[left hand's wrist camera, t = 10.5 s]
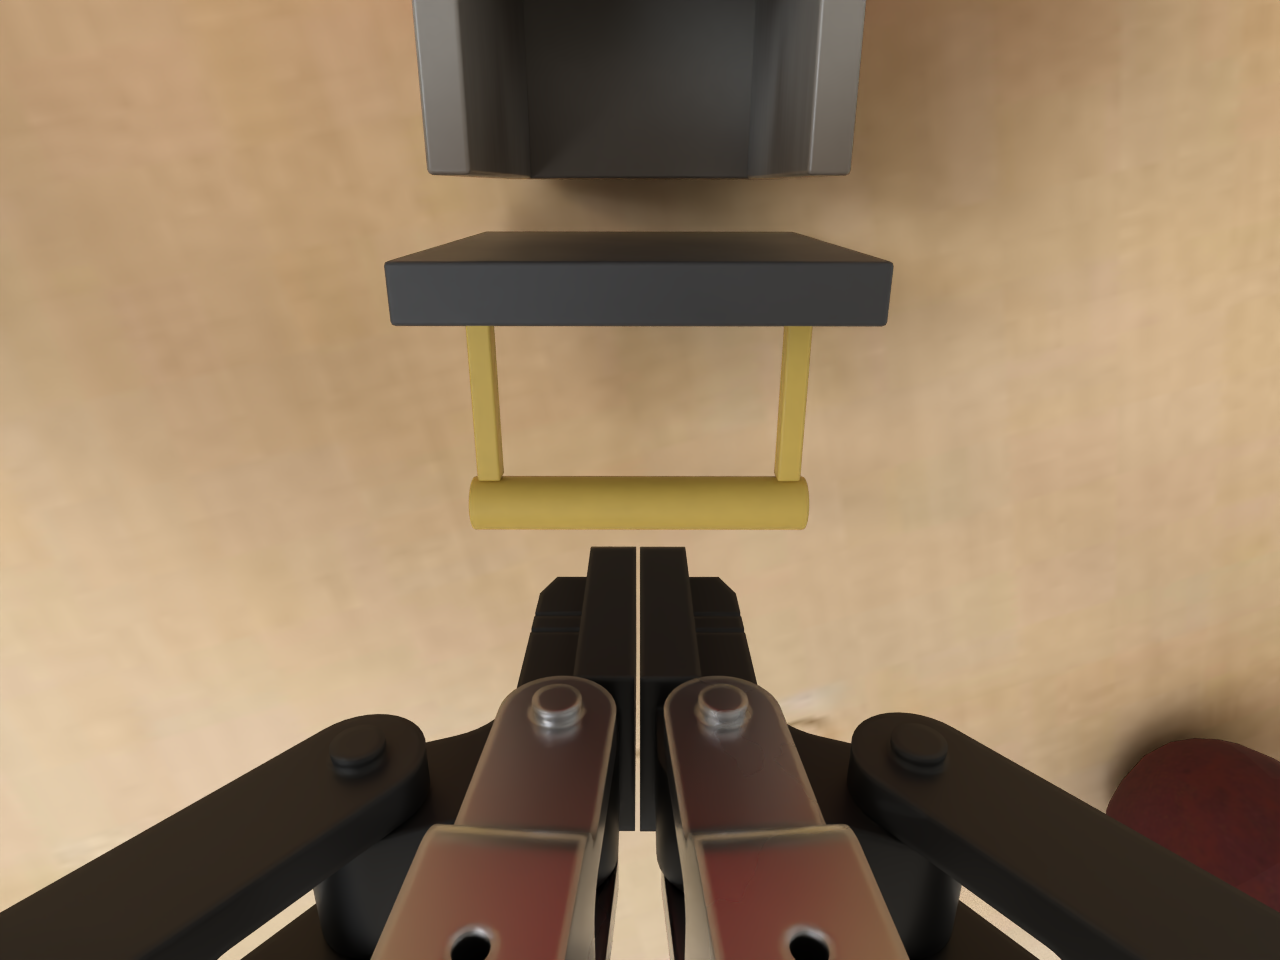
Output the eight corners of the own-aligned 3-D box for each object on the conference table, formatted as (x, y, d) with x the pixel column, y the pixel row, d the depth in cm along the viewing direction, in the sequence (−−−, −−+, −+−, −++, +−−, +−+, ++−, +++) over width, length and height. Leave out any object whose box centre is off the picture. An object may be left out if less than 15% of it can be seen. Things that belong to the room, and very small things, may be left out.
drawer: (778, 457, 26) (855, 607, 17) (499, 457, 26) (422, 607, 17) (839, -415, 18) (1046, -1038, 9) (439, -416, 18) (231, -1040, 9)
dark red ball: (1288, 784, 32) (1456, 939, 25) (1119, 874, 34) (1235, 1040, 27) (1211, 670, 30) (1371, 806, 23) (1035, 772, 32) (1139, 925, 25)
